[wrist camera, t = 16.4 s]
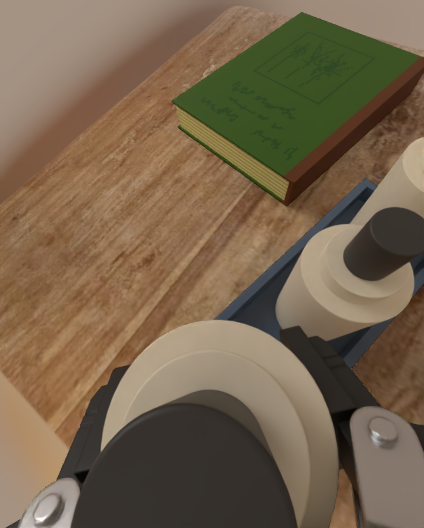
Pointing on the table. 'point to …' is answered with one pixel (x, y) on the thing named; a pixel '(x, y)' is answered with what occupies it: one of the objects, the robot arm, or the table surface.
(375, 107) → the hardcover book
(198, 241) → the table surface
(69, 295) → the table surface
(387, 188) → the row bottle
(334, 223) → the tray
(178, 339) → the bottle
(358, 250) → the row bottle
